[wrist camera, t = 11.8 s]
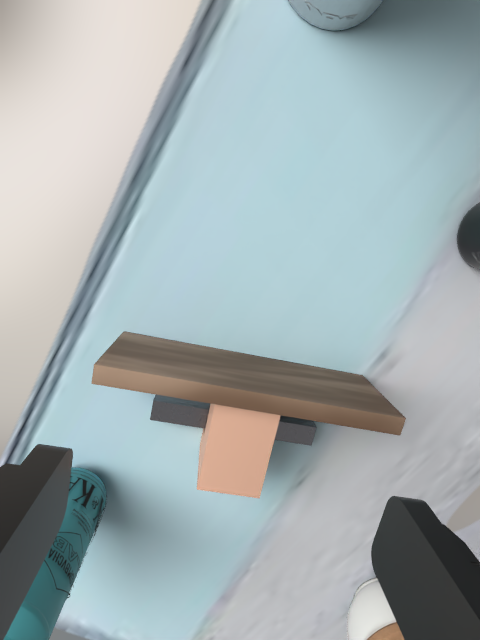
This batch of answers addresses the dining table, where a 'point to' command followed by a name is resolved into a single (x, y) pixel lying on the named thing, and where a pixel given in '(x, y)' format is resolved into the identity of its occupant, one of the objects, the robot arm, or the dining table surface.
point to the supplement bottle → (470, 237)
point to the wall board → (245, 382)
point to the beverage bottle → (61, 559)
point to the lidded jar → (371, 615)
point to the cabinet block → (235, 450)
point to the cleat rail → (198, 413)
